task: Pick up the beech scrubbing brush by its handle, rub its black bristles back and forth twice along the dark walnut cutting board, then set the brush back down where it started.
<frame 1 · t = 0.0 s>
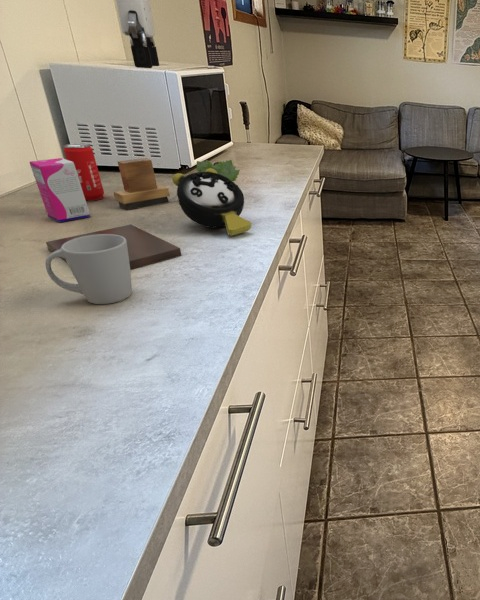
hand: (147, 66, 105), 29 cm above the counter, tool pointing down, fingers open, 9 cm apart
cup: (101, 298, 70), on the counter
beverage can: (92, 199, 111), on the counter
brush: (144, 204, 109), on the counter
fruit: (220, 198, 118), on the counter
alarm clock: (218, 227, 100), on the counter
supplement box: (69, 217, 99), on the counter
cutting board: (115, 252, 84), on the counter
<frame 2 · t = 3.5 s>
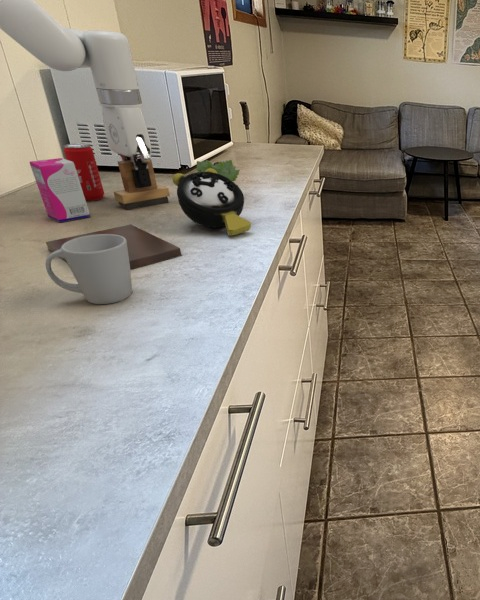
hand: (140, 184, 107), 5 cm above the counter, tool pointing down, fingers closed on brush, 2 cm apart
brush: (144, 204, 109), on the counter, touching gripper
everything else where it was.
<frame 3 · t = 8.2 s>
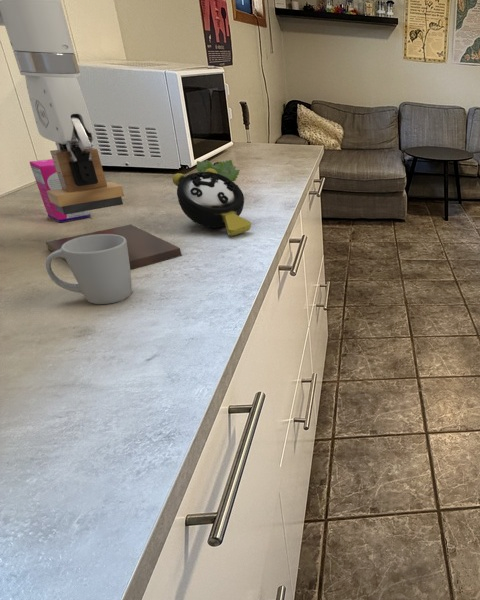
hand: (83, 181, 82), 12 cm above the counter, tool pointing down, fingers closed on brush, 2 cm apart
brush: (90, 207, 84), point 7 cm above the counter, touching gripper
everything else where it was.
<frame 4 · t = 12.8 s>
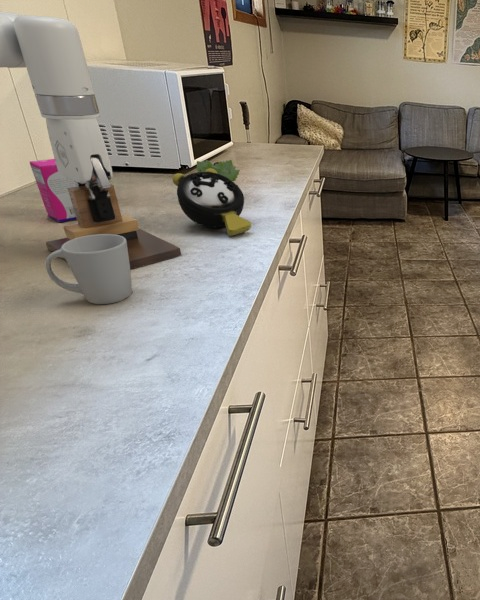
hand: (100, 217, 83), 6 cm above the counter, tool pointing down, fingers closed on brush, 2 cm apart
brush: (106, 241, 85), point 2 cm above the counter, touching cutting board, gripper
cutting board: (115, 252, 84), on the counter, touching brush
everything else where it was.
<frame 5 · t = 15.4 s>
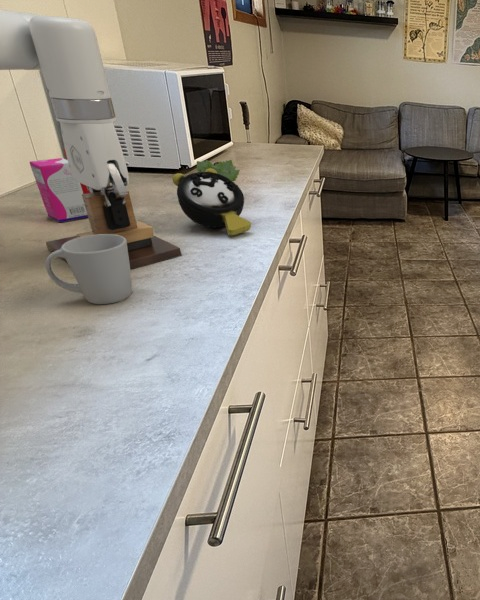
hand: (115, 224, 80), 6 cm above the counter, tool pointing down, fingers closed on brush, 2 cm apart
brush: (120, 249, 82), point 2 cm above the counter, touching gripper
cutting board: (115, 252, 84), on the counter
everything else where it was.
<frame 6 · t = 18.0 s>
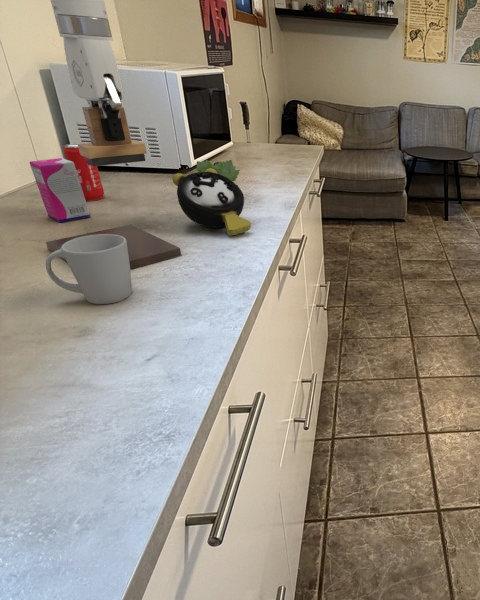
hand: (111, 138, 90), 17 cm above the counter, tool pointing down, fingers closed on brush, 2 cm apart
brush: (116, 162, 92), point 13 cm above the counter, touching gripper
everything else where it was.
when the fingers open (4 cm above the counter, at t = 22.1 s): brush stays where it is, on the counter.
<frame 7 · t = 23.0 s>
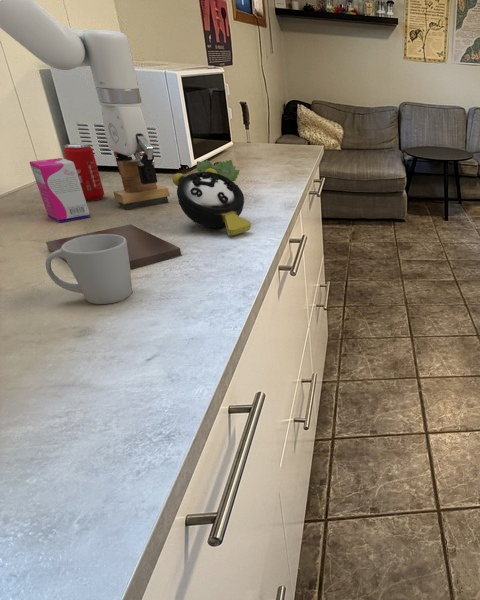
hand: (138, 179, 106), 6 cm above the counter, tool pointing down, fingers open, 9 cm apart
brush: (144, 204, 109), on the counter
everything else where it was.
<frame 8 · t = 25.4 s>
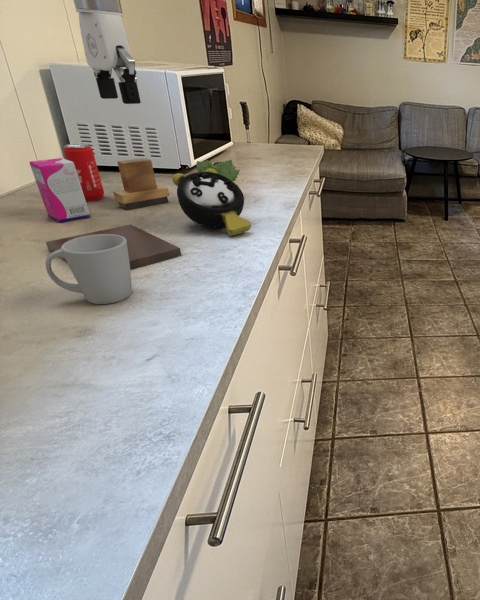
hand: (120, 100, 99), 22 cm above the counter, tool pointing down, fingers open, 9 cm apart
nothing on the counter moved.
at the end: brush inside the target area (0.1 cm from its centre), on the counter; brush tilted 0°; cutting board moved 0.0 cm from its start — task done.
